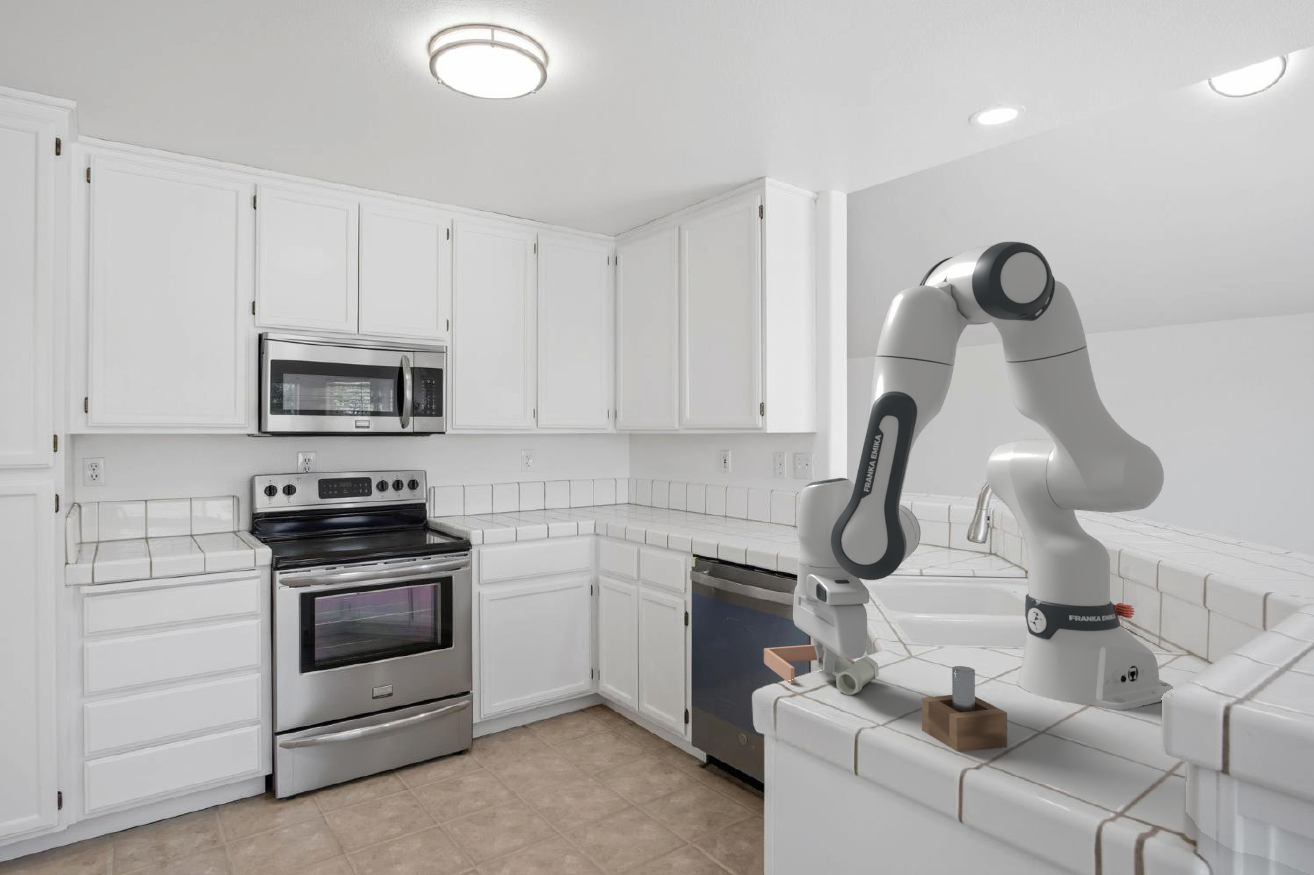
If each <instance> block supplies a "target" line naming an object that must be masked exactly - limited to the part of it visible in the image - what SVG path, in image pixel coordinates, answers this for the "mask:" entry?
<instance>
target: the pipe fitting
mask: <svg viewBox="0 0 1314 875" xmlns="http://www.w3.org/2000/svg"><path fill="white" fill-rule="evenodd" d="M879 673H880V672H879V664H878V662H877V661H875V660H874V659H873V658H871V657H869V656H868V655H865V656H862V657H861V658H859V659H857V660H855V662H854V664H852V663H851V662H849V661H848V660H847V659H845V658H841V657H838V658H837V659H836V661H835V672H834V673H831V674H832V676H833V677H835V681H836V689H837V690H839V692H841V693H842V694H844V695H845V696H852V695H856V694H857V693H859V692H860V691H862V690H863V687H865V685H867V684H868V683H869V682H871V681H873V680H875V679H876V678H878V677H879Z"/></svg>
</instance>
